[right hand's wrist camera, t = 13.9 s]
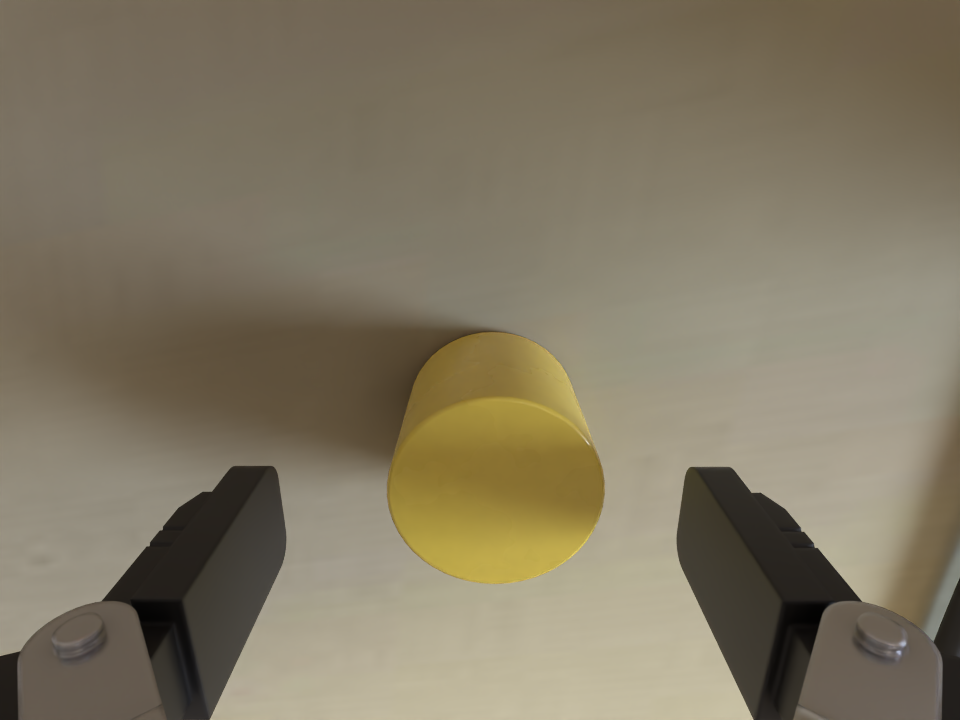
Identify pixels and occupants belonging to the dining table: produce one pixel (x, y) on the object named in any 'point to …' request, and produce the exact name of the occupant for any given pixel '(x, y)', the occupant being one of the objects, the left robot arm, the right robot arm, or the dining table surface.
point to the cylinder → (494, 462)
